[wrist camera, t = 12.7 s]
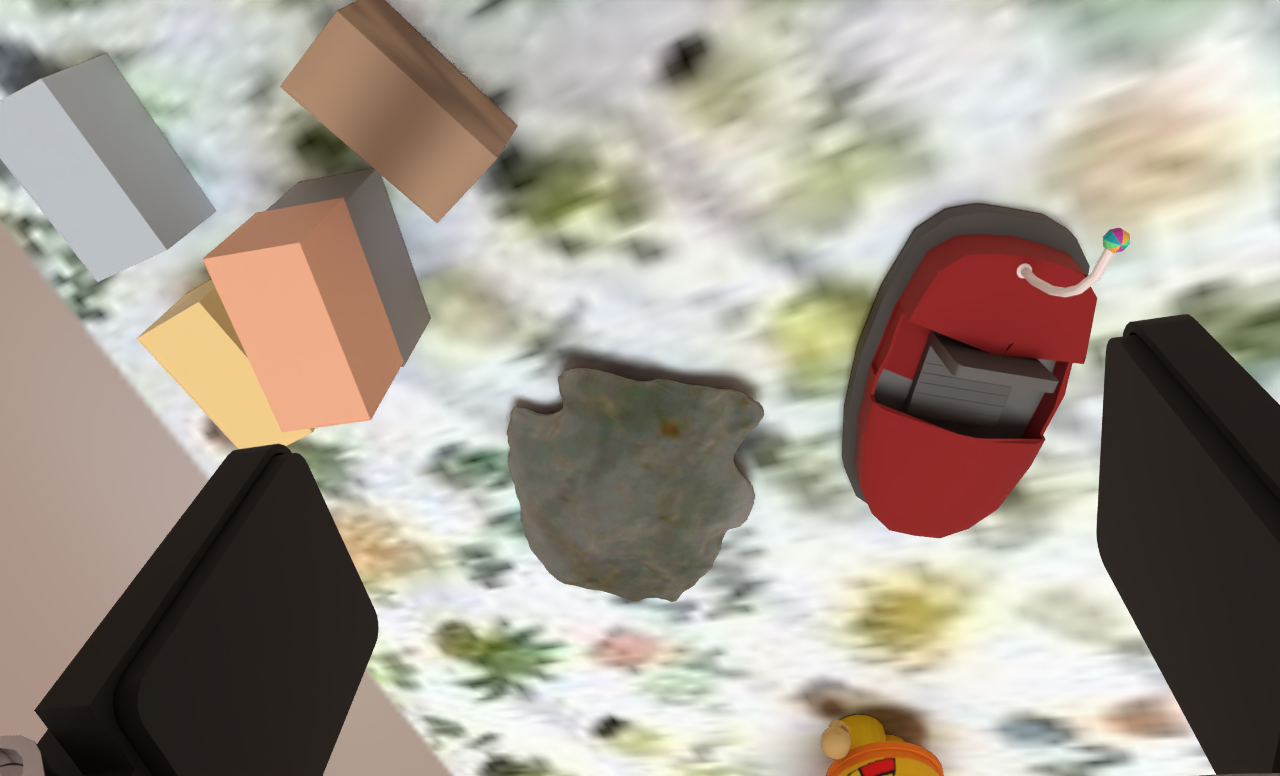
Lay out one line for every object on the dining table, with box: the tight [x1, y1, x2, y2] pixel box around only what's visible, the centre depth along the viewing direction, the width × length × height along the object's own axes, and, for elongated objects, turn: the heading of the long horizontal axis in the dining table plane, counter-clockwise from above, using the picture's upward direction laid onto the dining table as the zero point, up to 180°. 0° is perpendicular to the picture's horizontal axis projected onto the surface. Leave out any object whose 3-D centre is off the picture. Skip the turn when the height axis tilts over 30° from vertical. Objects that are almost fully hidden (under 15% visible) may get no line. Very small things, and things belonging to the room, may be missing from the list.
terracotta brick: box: [203, 197, 404, 432], centre depth 40 cm, size 8×4×5 cm, turn 11°
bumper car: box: [842, 204, 1130, 538], centre depth 43 cm, size 10×20×10 cm, turn 171°
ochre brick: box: [137, 279, 315, 449], centre depth 47 cm, size 8×4×5 cm, turn 30°
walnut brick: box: [280, 0, 517, 223], centre depth 40 cm, size 8×4×5 cm, turn 46°
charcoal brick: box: [266, 168, 431, 367], centre depth 44 cm, size 8×4×5 cm, turn 11°
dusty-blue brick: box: [0, 53, 216, 282], centre depth 42 cm, size 8×4×5 cm, turn 24°
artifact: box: [507, 368, 764, 602], centre depth 51 cm, size 14×4×15 cm
